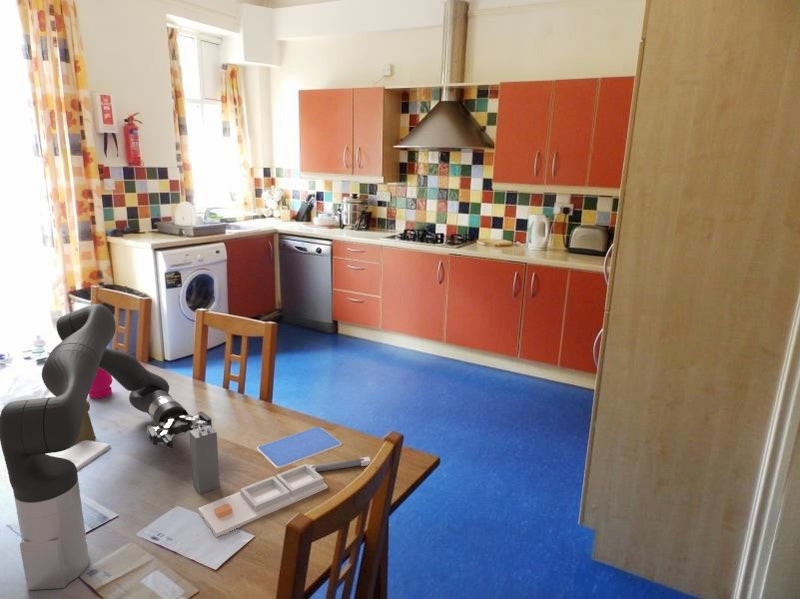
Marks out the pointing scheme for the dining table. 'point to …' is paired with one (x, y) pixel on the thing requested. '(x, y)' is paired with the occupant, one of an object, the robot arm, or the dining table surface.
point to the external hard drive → (84, 452)
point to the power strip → (261, 499)
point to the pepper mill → (101, 384)
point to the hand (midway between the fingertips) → (190, 439)
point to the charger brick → (204, 459)
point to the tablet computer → (298, 447)
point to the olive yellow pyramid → (86, 427)
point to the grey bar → (341, 464)
